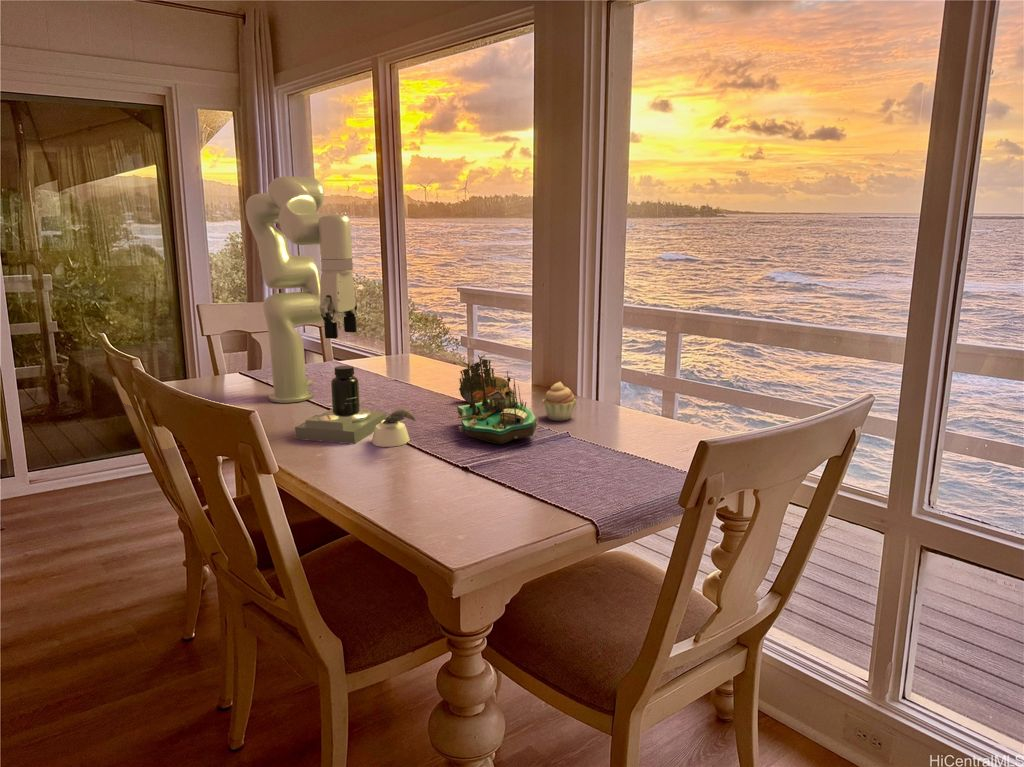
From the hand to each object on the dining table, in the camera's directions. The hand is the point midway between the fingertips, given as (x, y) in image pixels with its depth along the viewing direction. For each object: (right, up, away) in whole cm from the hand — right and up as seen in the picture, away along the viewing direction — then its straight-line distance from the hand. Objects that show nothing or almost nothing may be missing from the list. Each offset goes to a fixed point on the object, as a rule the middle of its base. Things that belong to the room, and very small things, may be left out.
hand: (341, 335), depth 181 cm
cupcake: (+56, -22, +13) cm, 61 cm away
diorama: (+38, -25, 0) cm, 46 cm away
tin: (+35, -18, +29) cm, 49 cm away
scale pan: (0, -21, +5) cm, 21 cm away
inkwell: (+16, -27, -9) cm, 33 cm away
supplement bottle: (0, -20, +5) cm, 20 cm away
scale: (0, -24, +3) cm, 24 cm away
